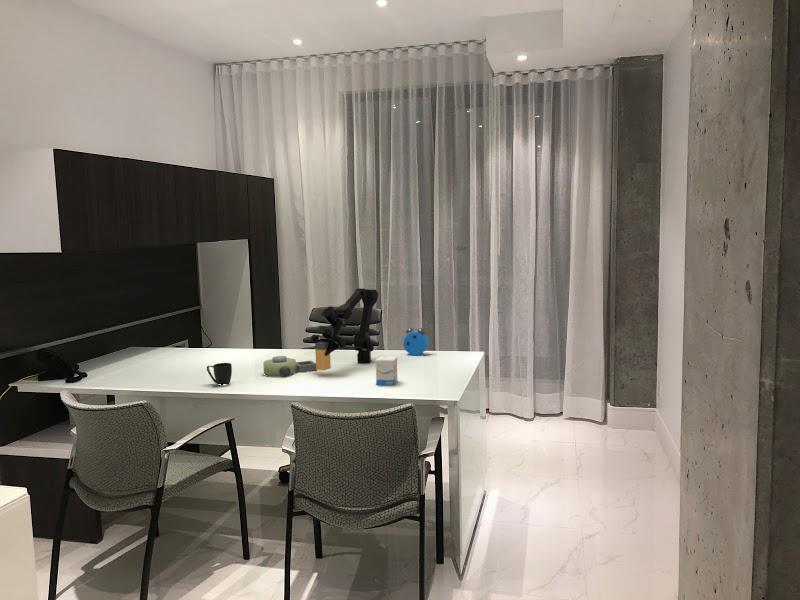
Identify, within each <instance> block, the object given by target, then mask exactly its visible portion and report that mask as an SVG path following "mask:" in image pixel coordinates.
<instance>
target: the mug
mask: <svg viewBox="0 0 800 600" xmlns="http://www.w3.org/2000/svg"><path fill="white" fill-rule="evenodd" d="M210 368H213V374H212V373H211V370H210ZM206 372H207V373H208V375H209V377H210V378H211V380H212V381H213V382H214V383H215V384H216V383H217V384H221V385H223V384H229V383H230V384H231V379H232V373H233V367H232V363H230V362H220V363H215V364H213V365H207V366H206ZM230 384H229V385H230Z"/></svg>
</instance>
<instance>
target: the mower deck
mask: <svg viewBox="0 0 800 600" xmlns="http://www.w3.org/2000/svg"><path fill="white" fill-rule="evenodd" d="M262 363H263V375H264V374H265V375H268V376H267V377H269V376H282V377H283V378H287V377H286V376H288V377H289V376H292V374H293V375H295V374H297V373H298V372H299V374H301V373H300V372H302V373H308V372H307V371H309V372H315V370H317V369H316V361H315V362H314V361H313V360H305V361H304V360H303V361H297V360H296V359H295V358H291V357H287V356H285V355H278V356H273V357H272V358H271V359H267V360H264V361H263V362H262ZM317 371H318V370H317ZM294 373H295V374H294ZM265 375H264V376H265Z"/></svg>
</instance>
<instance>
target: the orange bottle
mask: <svg viewBox="0 0 800 600" xmlns="http://www.w3.org/2000/svg"><path fill="white" fill-rule="evenodd" d="M328 346H329V342H318V343H314V350H315V363H316V369H317V371H319V370H320V371H327V370H331V369H332V366H331V365H332V364H331V363H332V362H331V353H330V354H328V355H327V356H325V352H326V350H327V348H328Z"/></svg>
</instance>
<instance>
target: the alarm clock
mask: <svg viewBox="0 0 800 600" xmlns="http://www.w3.org/2000/svg"><path fill="white" fill-rule="evenodd" d="M426 333H427V331H426V329H424V328H423V327H420V328H418V329H417V328H415V329H414V328H413V327H408V328H406V329H405V335H406V336H404V338H403V342H402V343H403V348H404V350H405V351H406V352H407V353H408V354H409V355H412V356H420V355H422V354H424V352H426V350H427V349H428V347H429V338H428V336H427V335H426Z"/></svg>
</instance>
